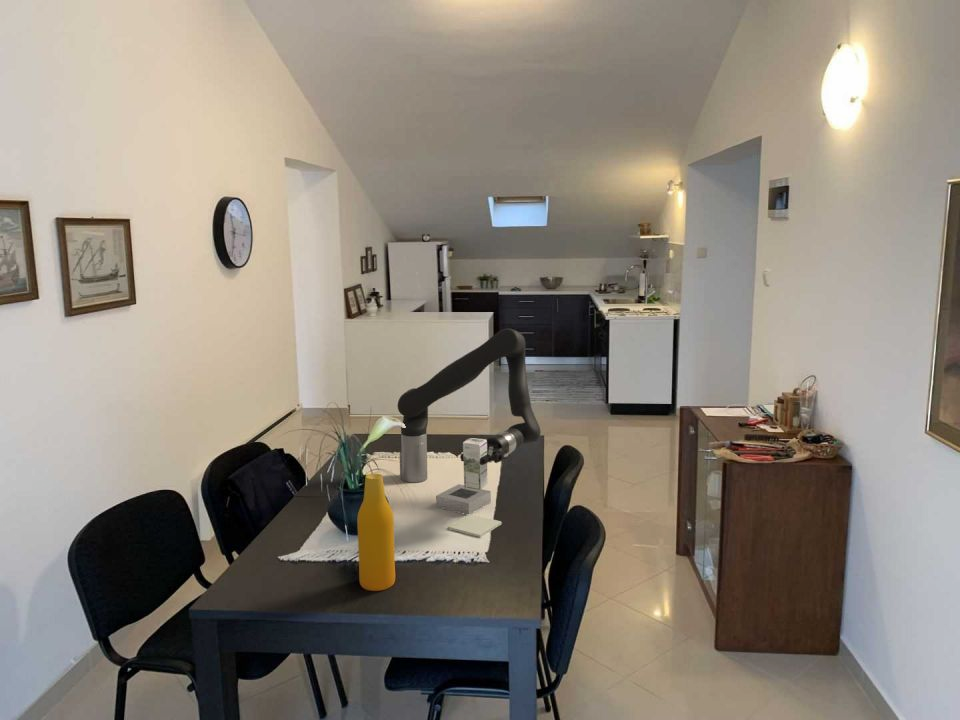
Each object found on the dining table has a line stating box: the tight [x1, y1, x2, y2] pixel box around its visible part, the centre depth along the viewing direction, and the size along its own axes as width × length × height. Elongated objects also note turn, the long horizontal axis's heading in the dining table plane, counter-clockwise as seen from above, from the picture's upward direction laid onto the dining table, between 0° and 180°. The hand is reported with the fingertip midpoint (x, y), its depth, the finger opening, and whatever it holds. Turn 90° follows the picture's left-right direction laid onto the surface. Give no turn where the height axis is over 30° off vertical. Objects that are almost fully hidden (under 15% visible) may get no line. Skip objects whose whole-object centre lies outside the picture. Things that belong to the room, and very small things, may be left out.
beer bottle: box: [356, 473, 396, 592], centre depth 187 cm, size 9×9×29 cm
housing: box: [435, 483, 492, 515], centre depth 243 cm, size 13×13×4 cm
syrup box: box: [462, 437, 489, 490], centre depth 223 cm, size 6×6×14 cm
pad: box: [447, 513, 503, 538], centre depth 225 cm, size 12×12×1 cm
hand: (471, 459), depth 220 cm, fingers closed on syrup box, 6 cm apart
